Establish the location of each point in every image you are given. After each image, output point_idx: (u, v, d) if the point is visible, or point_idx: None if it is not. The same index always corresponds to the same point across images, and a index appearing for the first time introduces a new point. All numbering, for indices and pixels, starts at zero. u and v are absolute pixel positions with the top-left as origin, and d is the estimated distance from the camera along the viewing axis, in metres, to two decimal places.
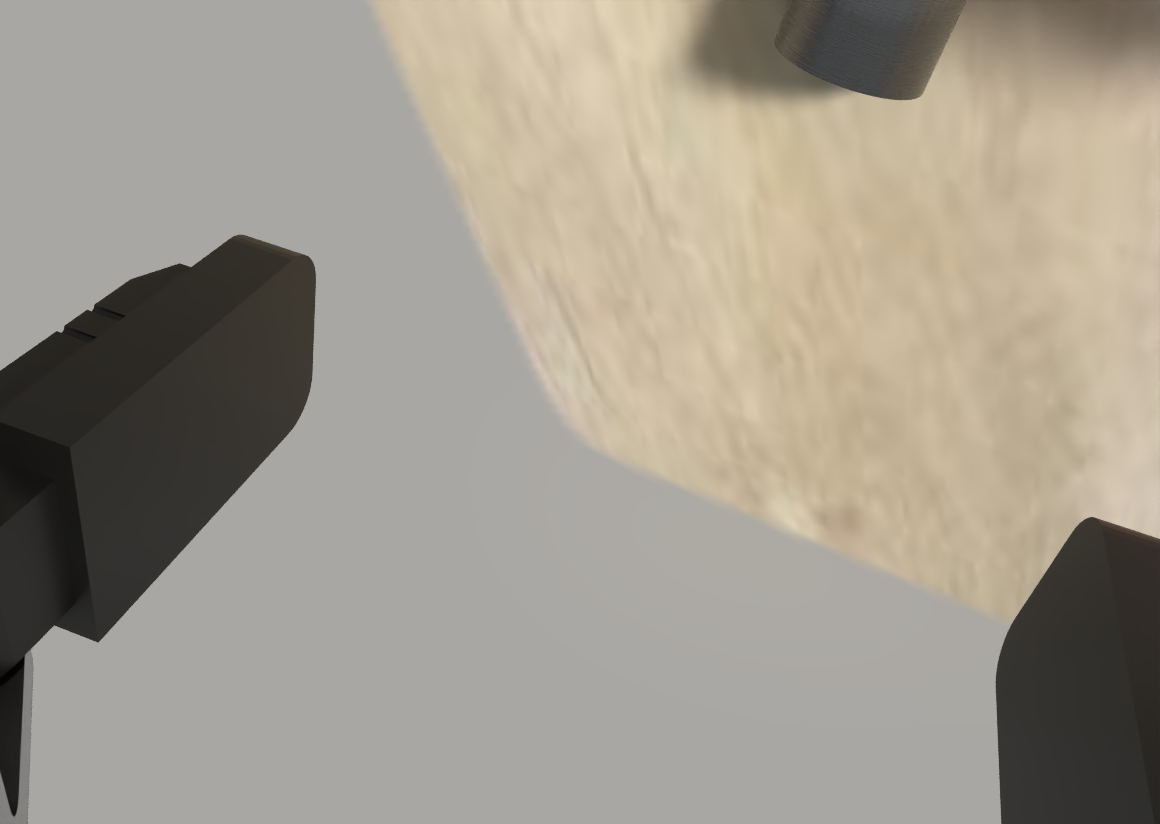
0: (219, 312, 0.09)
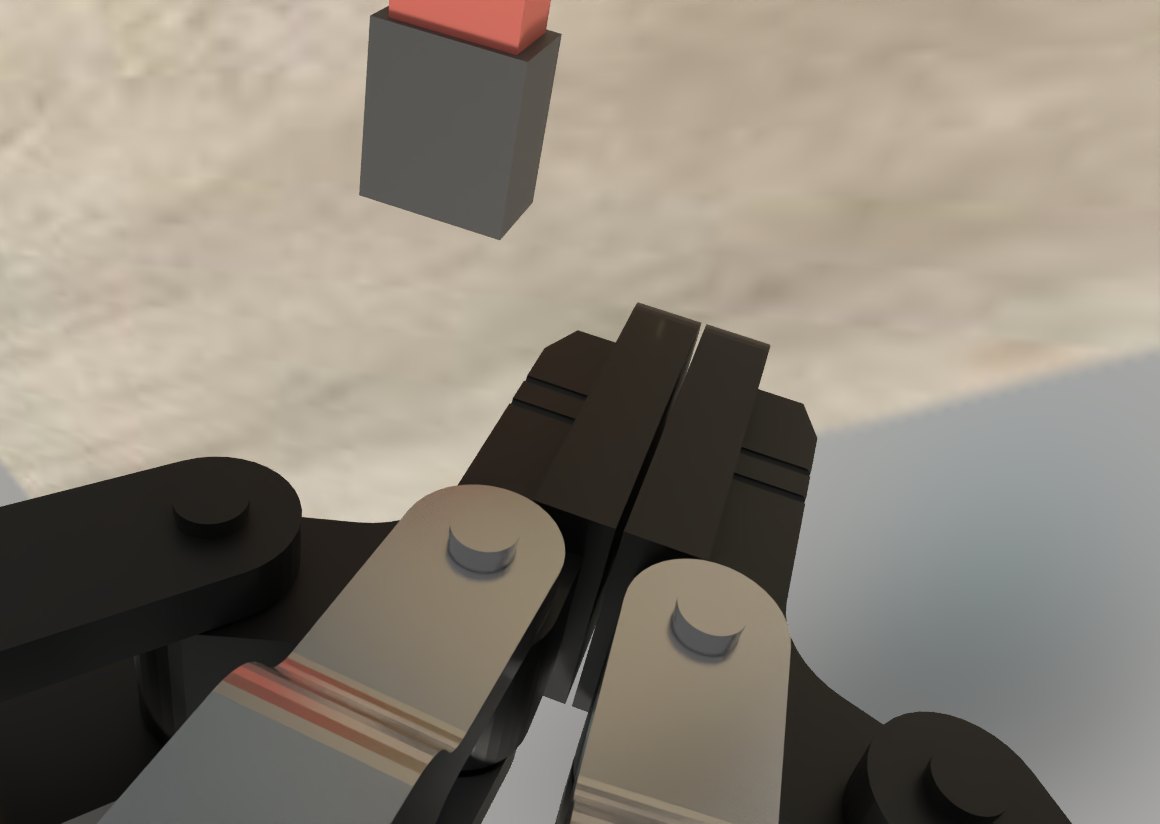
0: (664, 385, 0.10)
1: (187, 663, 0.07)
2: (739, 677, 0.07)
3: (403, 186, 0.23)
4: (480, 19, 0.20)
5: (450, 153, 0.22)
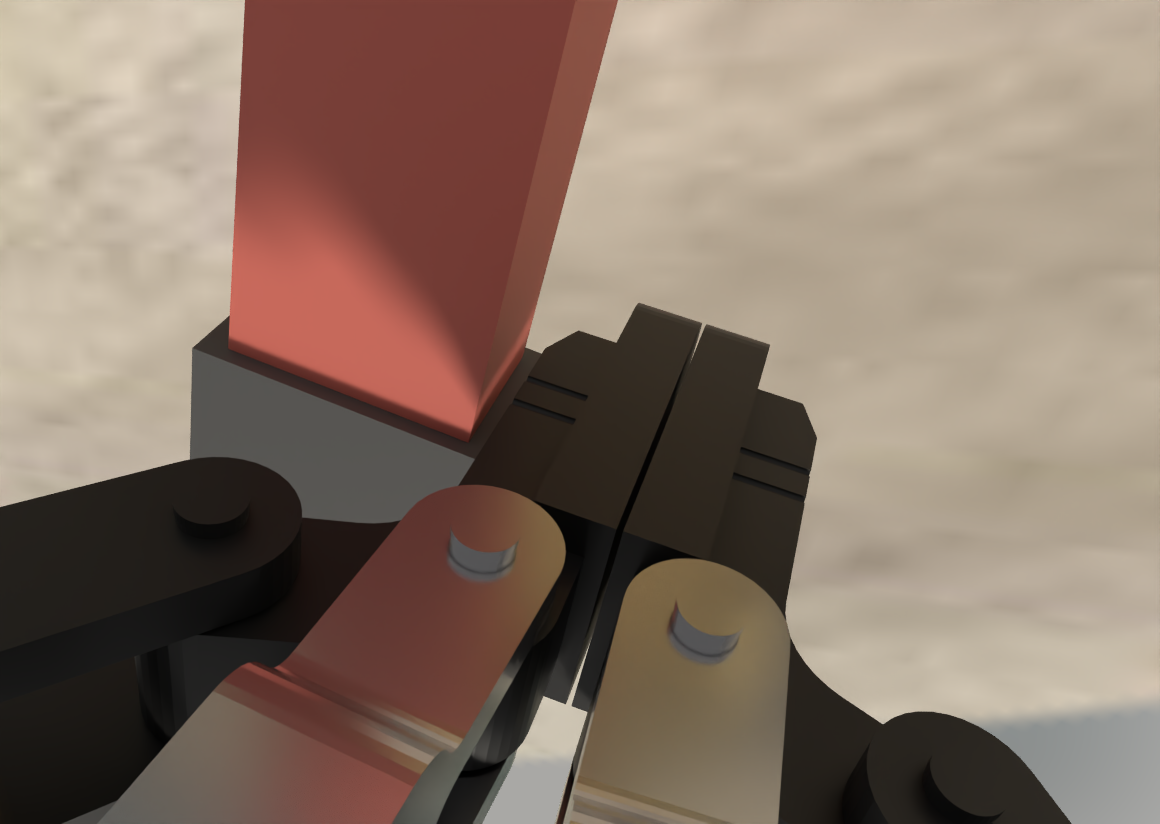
0: (665, 386, 0.10)
1: (187, 663, 0.07)
2: (737, 677, 0.07)
3: None
4: (400, 378, 0.11)
5: None
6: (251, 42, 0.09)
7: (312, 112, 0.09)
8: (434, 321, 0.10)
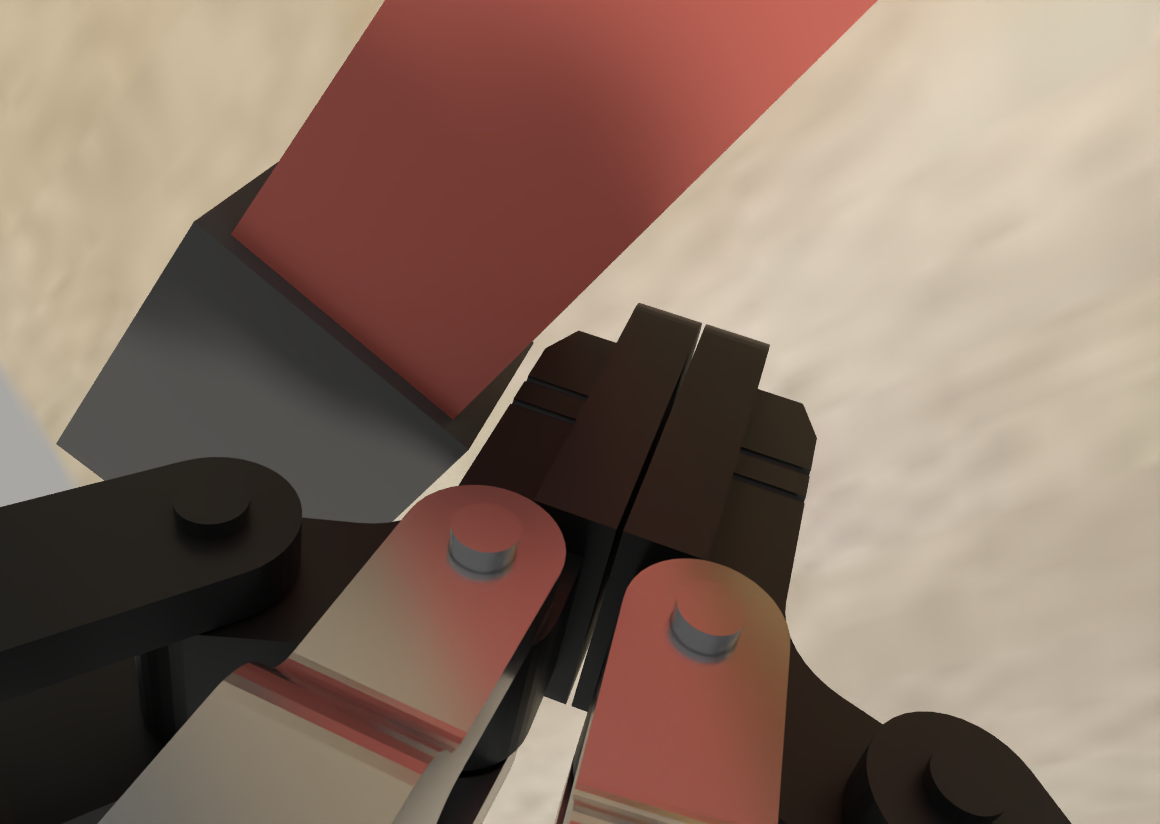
0: (665, 385, 0.10)
1: (187, 664, 0.07)
2: (738, 677, 0.07)
3: None
4: (413, 337, 0.10)
5: None
6: None
7: (455, 58, 0.08)
8: (480, 301, 0.10)
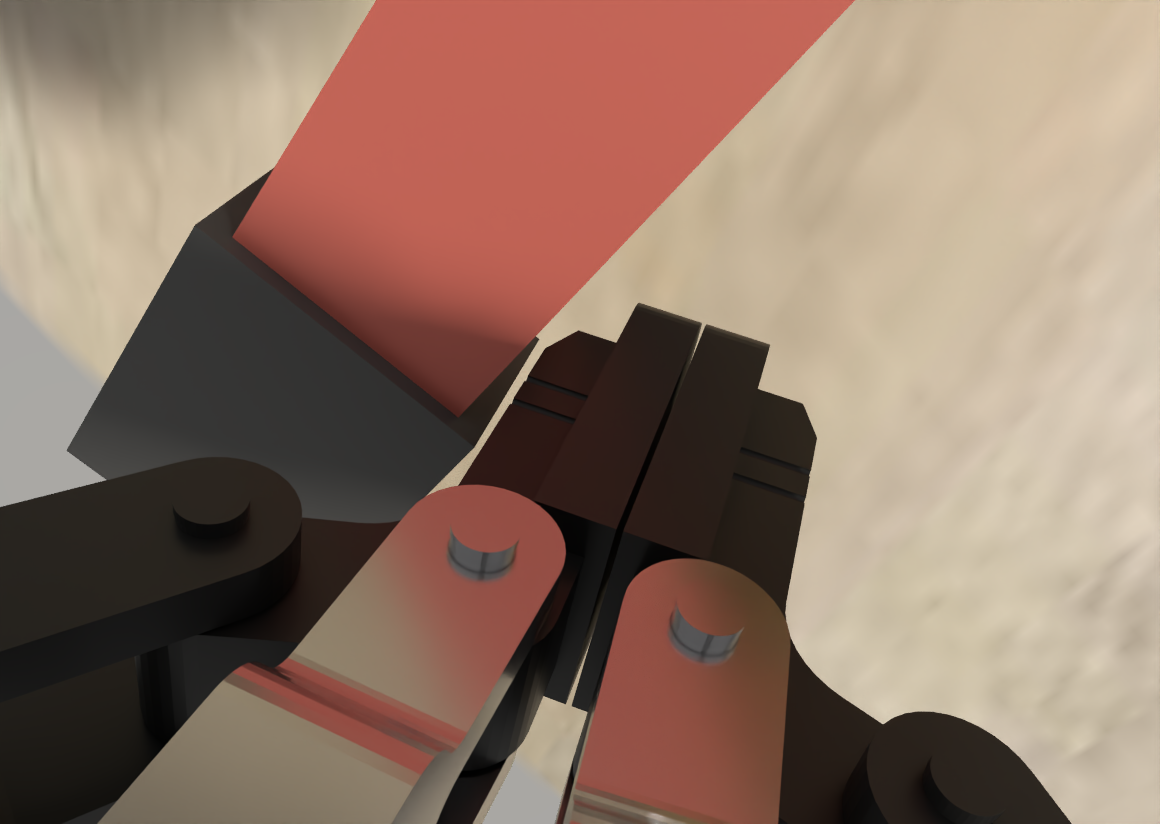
0: (665, 385, 0.10)
1: (187, 664, 0.07)
2: (738, 677, 0.07)
3: None
4: (416, 336, 0.10)
5: None
6: None
7: (449, 54, 0.08)
8: (481, 298, 0.10)
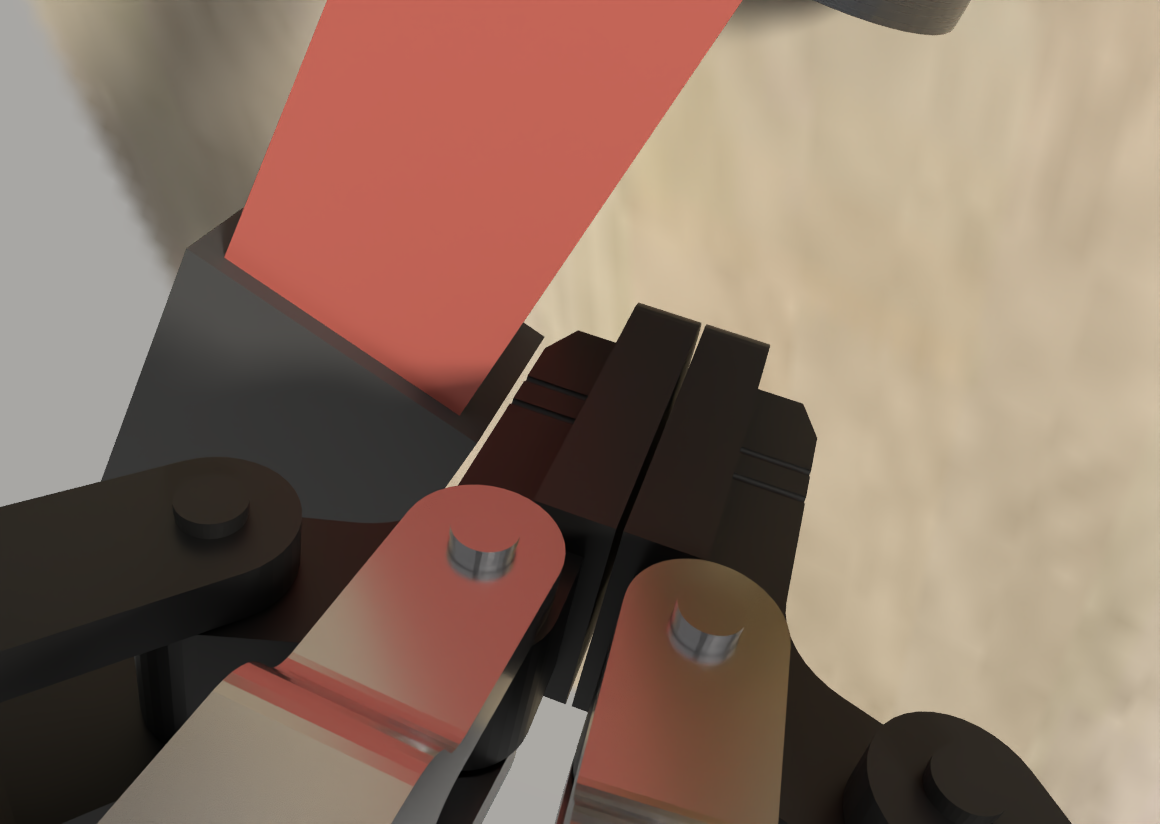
0: (664, 385, 0.10)
1: (187, 664, 0.07)
2: (739, 678, 0.07)
3: None
4: (408, 336, 0.10)
5: None
6: None
7: (401, 48, 0.09)
8: (465, 292, 0.10)
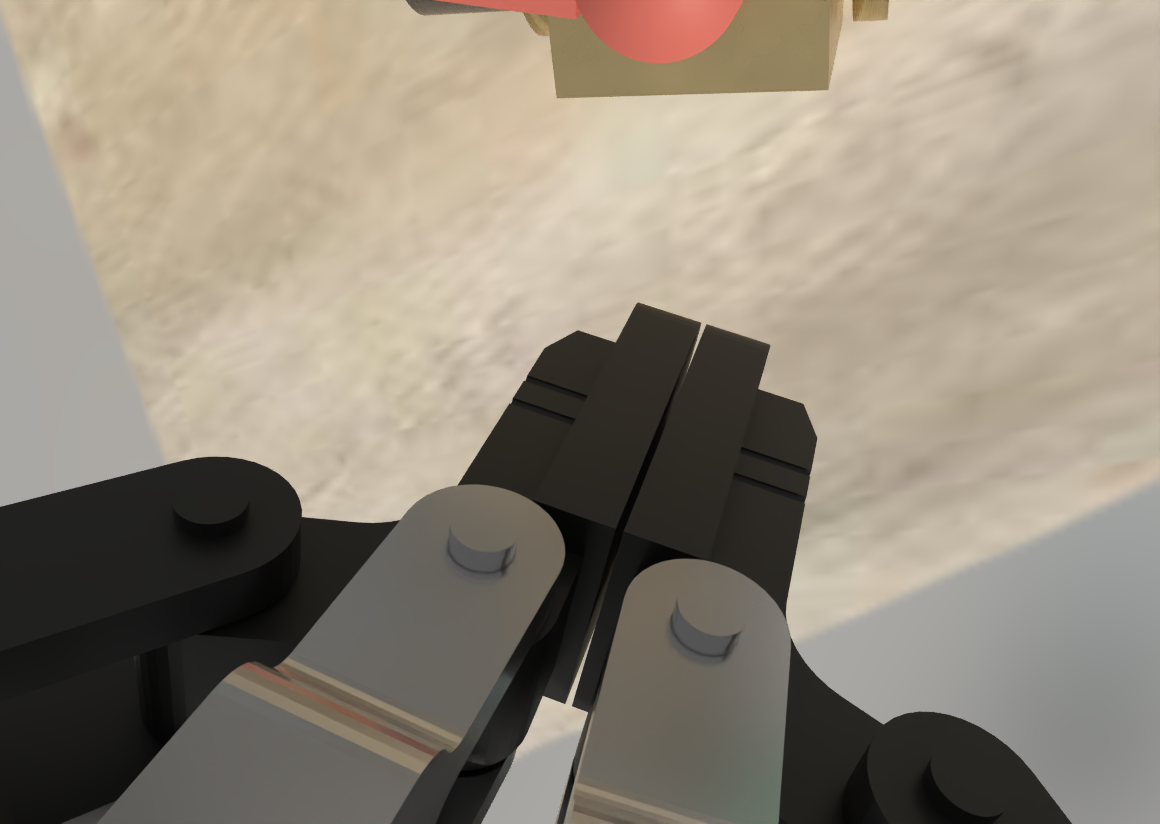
0: (664, 385, 0.10)
1: (187, 664, 0.07)
2: (738, 677, 0.07)
3: None
4: None
5: None
6: None
7: None
8: None
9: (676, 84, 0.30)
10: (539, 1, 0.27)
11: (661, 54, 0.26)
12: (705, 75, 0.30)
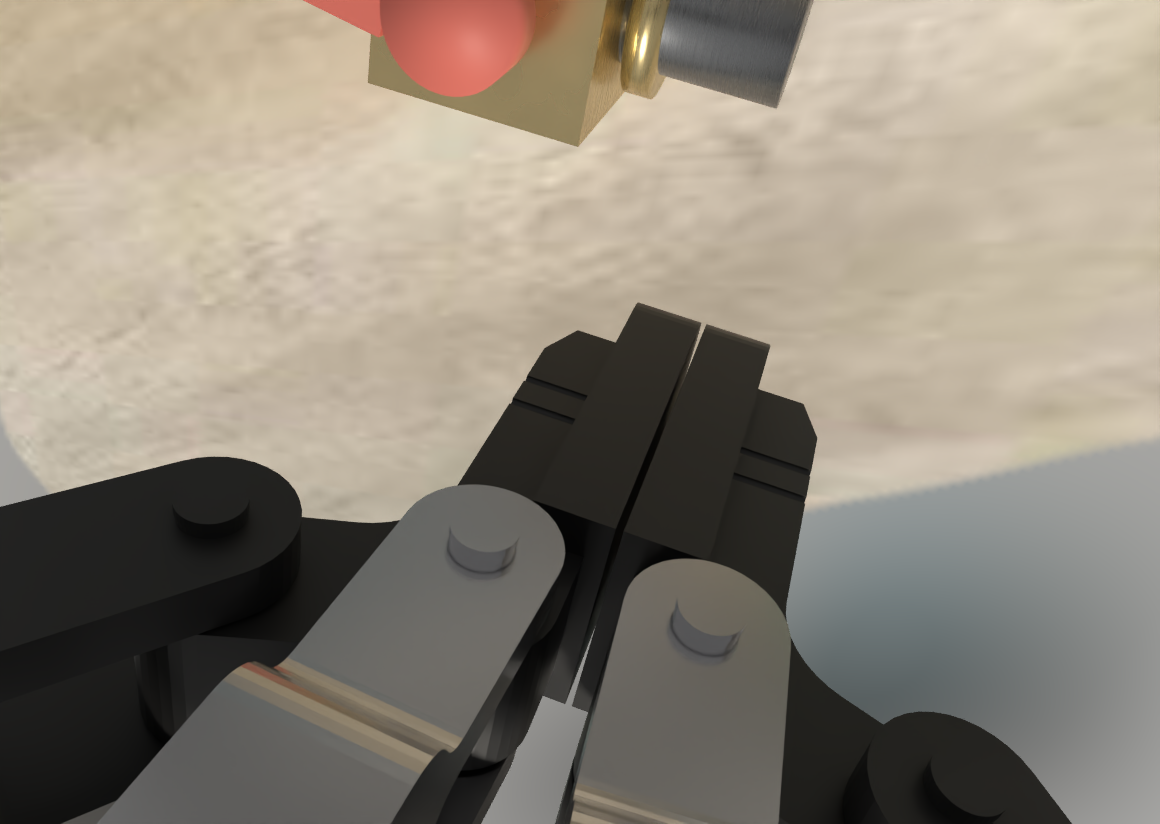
0: (664, 385, 0.10)
1: (186, 663, 0.07)
2: (738, 677, 0.07)
3: None
4: None
5: None
6: None
7: None
8: None
9: (464, 103, 0.36)
10: (353, 14, 0.32)
11: (439, 87, 0.33)
12: (487, 104, 0.36)
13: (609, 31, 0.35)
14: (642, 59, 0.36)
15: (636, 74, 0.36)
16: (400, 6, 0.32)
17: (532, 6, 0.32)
